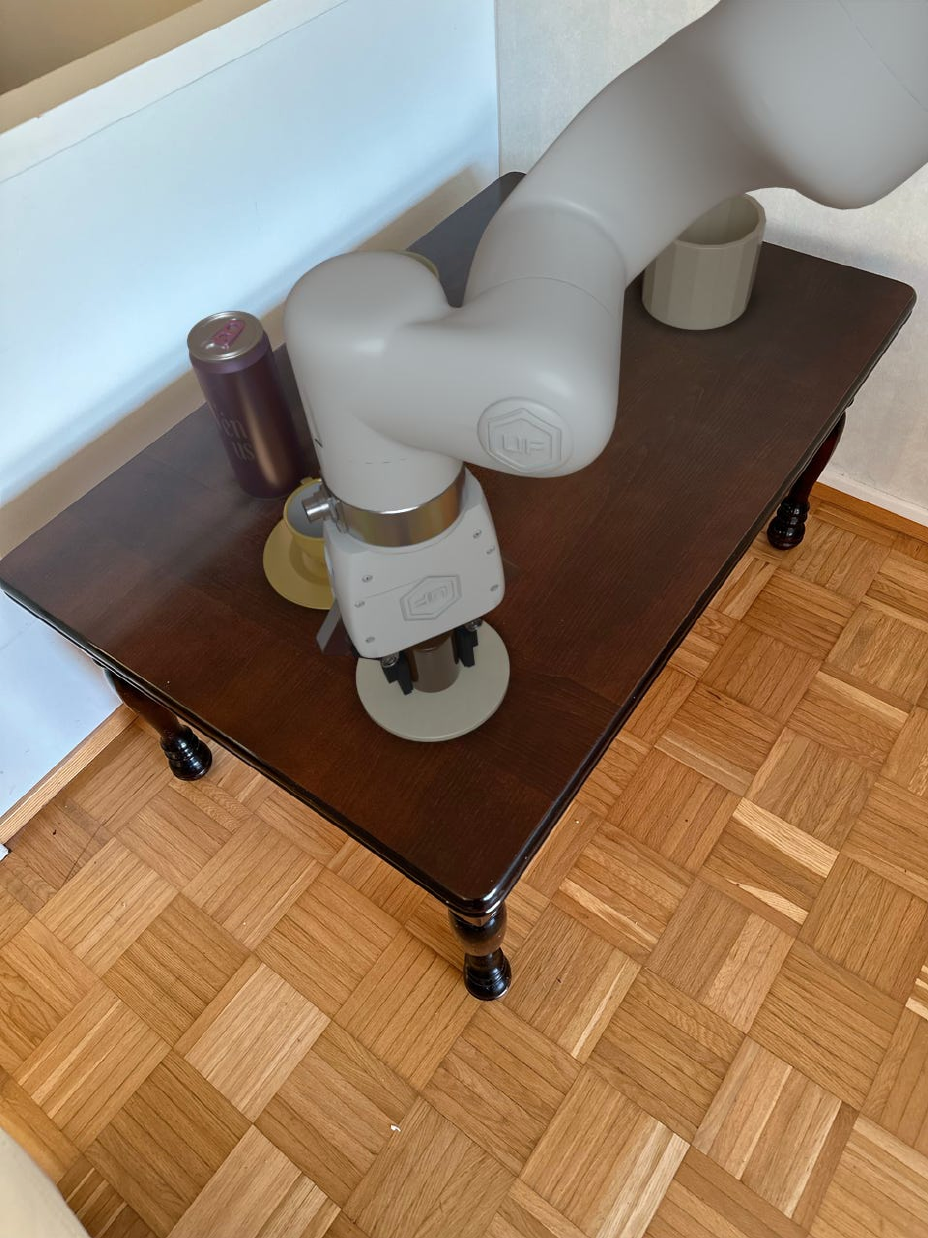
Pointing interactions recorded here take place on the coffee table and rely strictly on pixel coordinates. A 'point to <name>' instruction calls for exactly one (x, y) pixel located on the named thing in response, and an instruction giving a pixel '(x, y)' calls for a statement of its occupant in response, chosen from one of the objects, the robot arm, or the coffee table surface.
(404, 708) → the lid
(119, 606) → the coffee table surface
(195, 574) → the coffee table surface
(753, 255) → the pot
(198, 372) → the beverage can
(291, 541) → the cup
